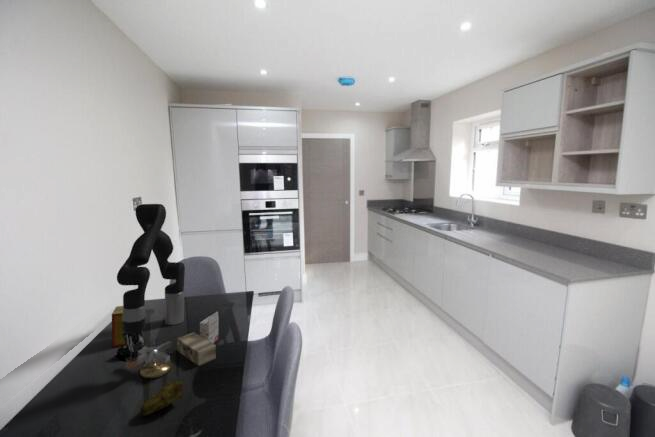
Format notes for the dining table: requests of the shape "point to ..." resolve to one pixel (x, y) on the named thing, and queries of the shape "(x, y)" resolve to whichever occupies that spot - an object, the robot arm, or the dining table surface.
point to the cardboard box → (196, 348)
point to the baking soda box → (117, 327)
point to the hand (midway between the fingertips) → (134, 358)
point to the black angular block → (122, 354)
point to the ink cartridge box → (210, 328)
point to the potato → (163, 397)
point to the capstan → (152, 361)
